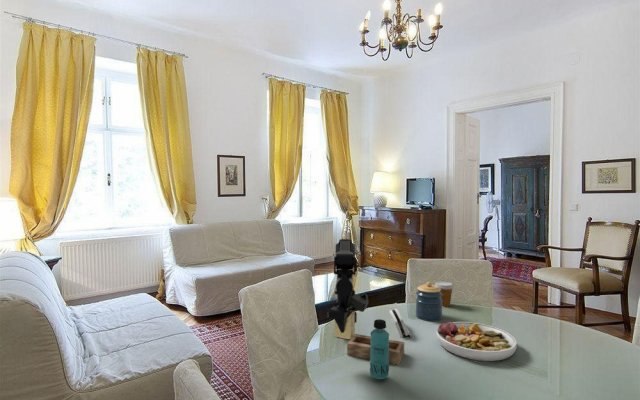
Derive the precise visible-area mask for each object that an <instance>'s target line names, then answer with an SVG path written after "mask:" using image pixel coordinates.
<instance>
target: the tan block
mask: <svg viewBox="0 0 640 400" xmlns="http://www.w3.org/2000/svg"><path fill="white" fill-rule="evenodd" d="M355 311H356V310H355ZM355 311H354V310H348V315H350V316H349V317H348V318H347V319H346V323H345V330H344V333H341V331H340V329H339V327H338V325H337V323H336V321H335V320H334V337H335V338H341V339H347V340H351V338H352V337H353V336H354V335H355V334H356V332H355V330H356V328H355V327H356V325H355V324H356V323H355Z"/></svg>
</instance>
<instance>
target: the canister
mask: <svg viewBox="0 0 640 400" xmlns="http://www.w3.org/2000/svg"><path fill="white" fill-rule="evenodd" d="M416 289H417V290H416V291H415V294H416V297H415V317H416V318H417V319H420V320H423V321H428V322H434V321H435V322H436V321H440V320H442V319H443V307H442V302H443V301H442V298H441V297H442V296H443V294H442V293H441V292H440V291H441V289H440V288H438V287H437V286H435V284H432V282H431V281H427V282H426V283H424V284H420V285H419V286H418V287H417V288H416Z"/></svg>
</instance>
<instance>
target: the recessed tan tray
mask: <svg viewBox="0 0 640 400" xmlns="http://www.w3.org/2000/svg"><path fill="white" fill-rule="evenodd" d="M346 345H347V346H346V348H347V350H346V354H347V356H352V357H357V358H362V359H368V360H370V346H371V335H365V334H358V333H355V335H354V336H353V337H352V338H351V339H349V341H348V342H347V343H346ZM404 354H405V342H404V341H400V340H393V339H389V364H392V365H400V363H401V361H402V358H403V357H404Z"/></svg>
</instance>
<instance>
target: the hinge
mask: <svg viewBox="0 0 640 400" xmlns="http://www.w3.org/2000/svg"><path fill="white" fill-rule="evenodd" d="M388 313H389V316H390V319H391V322H392V325H393V326H394V328H395V330H396V332H397V334H398V335H399V337H400V338H404V336H406V337H408V336H409V337H410V338H412V337H413V335H412V334H411V331H410V330H409V329H408V327H407V325H406V324H405V322H404V320H403V317H402V315H401V313H400V311H399V309H397V308H393V309H390V310H388Z"/></svg>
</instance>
